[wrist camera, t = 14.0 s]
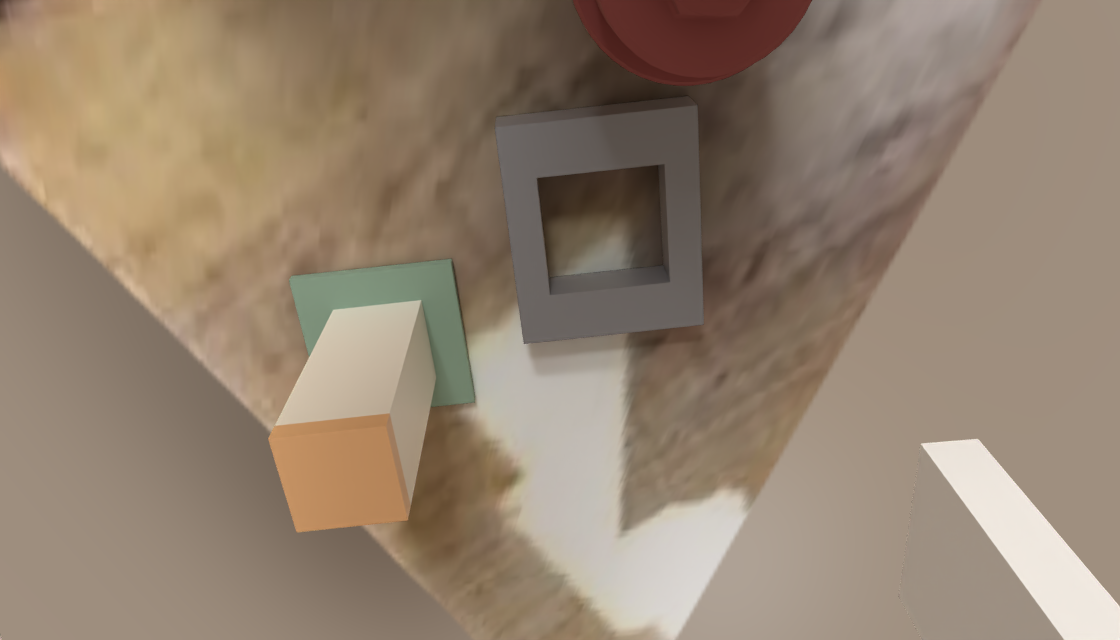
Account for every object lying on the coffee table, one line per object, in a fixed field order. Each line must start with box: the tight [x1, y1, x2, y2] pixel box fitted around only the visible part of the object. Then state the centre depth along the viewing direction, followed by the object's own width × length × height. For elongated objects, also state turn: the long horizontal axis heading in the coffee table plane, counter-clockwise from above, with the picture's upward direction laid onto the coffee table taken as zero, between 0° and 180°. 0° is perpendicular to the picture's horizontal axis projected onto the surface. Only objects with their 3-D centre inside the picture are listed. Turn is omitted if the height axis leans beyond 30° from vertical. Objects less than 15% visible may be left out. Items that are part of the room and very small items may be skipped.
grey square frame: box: [495, 96, 704, 344], centre depth 44 cm, size 12×10×2 cm
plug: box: [268, 300, 436, 532], centre depth 42 cm, size 5×5×13 cm
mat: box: [289, 259, 475, 407], centre depth 48 cm, size 9×9×1 cm
